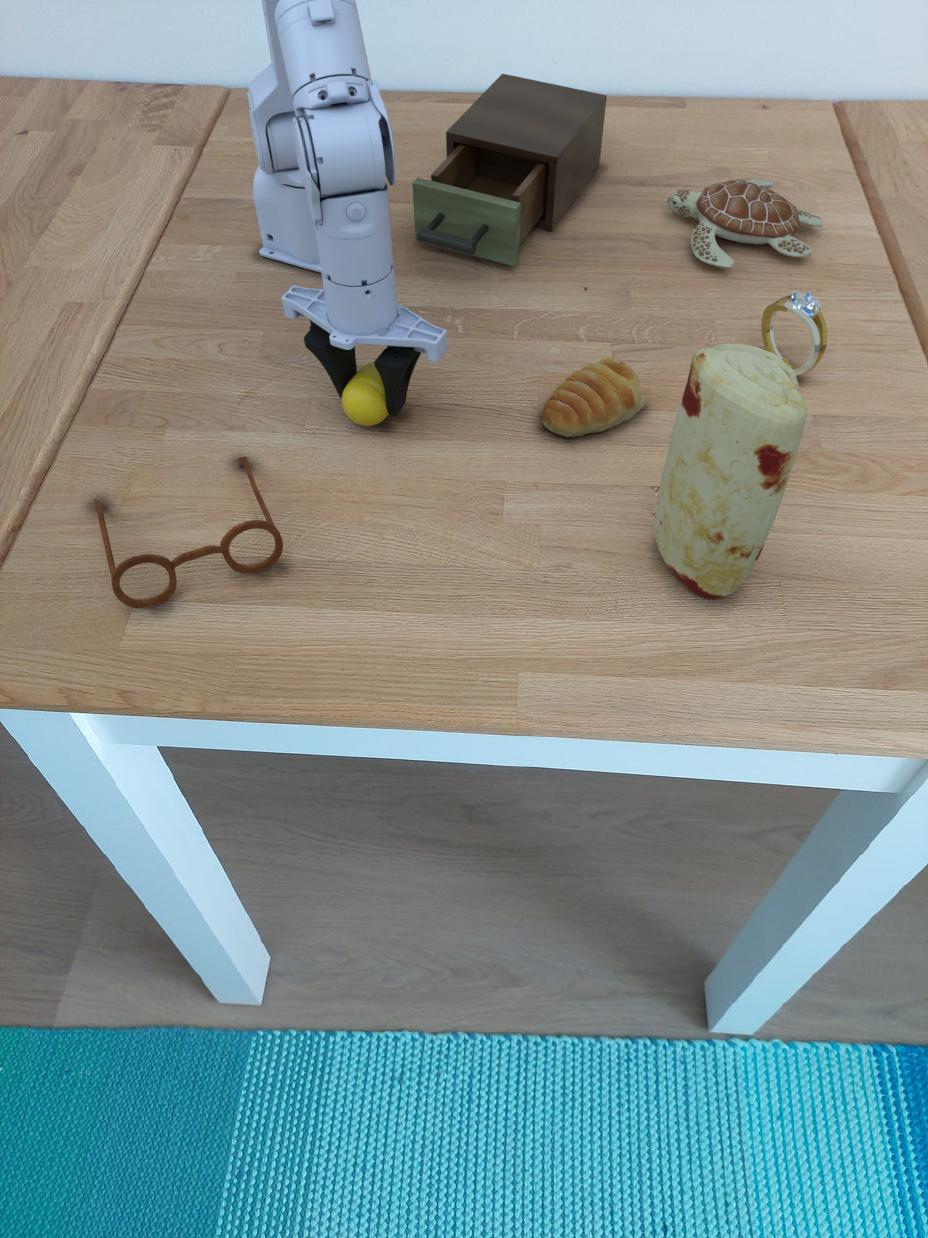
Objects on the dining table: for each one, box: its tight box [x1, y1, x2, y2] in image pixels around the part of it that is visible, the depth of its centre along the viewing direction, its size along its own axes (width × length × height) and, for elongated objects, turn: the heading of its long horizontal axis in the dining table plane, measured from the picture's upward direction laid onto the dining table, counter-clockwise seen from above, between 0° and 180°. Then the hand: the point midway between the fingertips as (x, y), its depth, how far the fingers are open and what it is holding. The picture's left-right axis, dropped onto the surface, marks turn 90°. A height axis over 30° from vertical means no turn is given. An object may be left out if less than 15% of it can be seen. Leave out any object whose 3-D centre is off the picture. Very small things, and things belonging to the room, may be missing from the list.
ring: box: [760, 289, 828, 377], centre depth 85 cm, size 7×3×8 cm, turn 25°
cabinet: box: [445, 73, 608, 232], centre depth 105 cm, size 15×13×8 cm
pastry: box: [542, 357, 646, 438], centre depth 84 cm, size 9×7×4 cm
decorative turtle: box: [667, 178, 825, 269], centre depth 100 cm, size 18×17×5 cm
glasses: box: [93, 456, 284, 609], centre depth 75 cm, size 13×13×5 cm
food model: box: [652, 343, 808, 600], centre depth 66 cm, size 10×7×20 cm
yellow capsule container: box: [341, 361, 389, 427], centre depth 83 cm, size 6×4×4 cm
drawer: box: [411, 143, 549, 267], centre depth 98 cm, size 18×12×6 cm, turn 155°
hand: (372, 400), depth 84 cm, fingers closed on yellow capsule container, 4 cm apart
